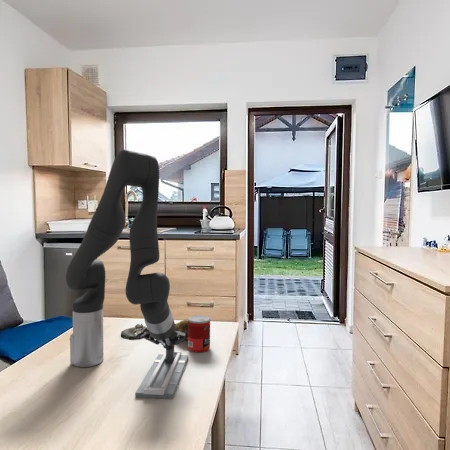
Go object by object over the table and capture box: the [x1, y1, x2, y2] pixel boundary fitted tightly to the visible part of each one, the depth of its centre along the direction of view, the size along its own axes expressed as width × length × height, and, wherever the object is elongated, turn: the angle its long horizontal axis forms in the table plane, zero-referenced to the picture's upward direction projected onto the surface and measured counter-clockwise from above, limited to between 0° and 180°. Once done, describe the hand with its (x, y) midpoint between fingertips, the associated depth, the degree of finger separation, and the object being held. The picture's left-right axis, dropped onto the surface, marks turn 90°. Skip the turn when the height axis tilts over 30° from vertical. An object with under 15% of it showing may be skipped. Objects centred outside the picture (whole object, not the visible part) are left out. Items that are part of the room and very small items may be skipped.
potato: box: [175, 319, 188, 340], centre depth 135 cm, size 8×13×8 cm, turn 15°
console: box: [134, 350, 189, 399], centre depth 105 cm, size 10×26×2 cm, turn 177°
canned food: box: [187, 314, 211, 354], centre depth 126 cm, size 8×8×11 cm
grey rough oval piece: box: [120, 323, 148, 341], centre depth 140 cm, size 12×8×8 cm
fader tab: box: [165, 345, 175, 363], centre depth 112 cm, size 3×3×10 cm
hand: (169, 347), depth 111 cm, fingers closed
